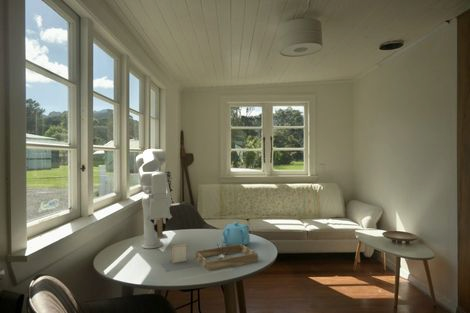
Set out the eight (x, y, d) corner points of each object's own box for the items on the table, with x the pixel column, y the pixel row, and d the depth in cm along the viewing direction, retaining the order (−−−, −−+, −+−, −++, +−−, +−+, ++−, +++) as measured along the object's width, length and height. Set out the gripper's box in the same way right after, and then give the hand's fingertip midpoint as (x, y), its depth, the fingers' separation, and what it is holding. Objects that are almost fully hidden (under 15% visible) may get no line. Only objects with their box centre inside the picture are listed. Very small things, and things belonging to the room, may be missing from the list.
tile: (172, 262, 146) (172, 246, 146) (186, 260, 149) (185, 244, 149) (173, 263, 144) (172, 247, 144) (187, 261, 147) (186, 245, 147)
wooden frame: (195, 259, 151) (195, 251, 151) (241, 251, 163) (241, 243, 163) (208, 271, 135) (207, 262, 135) (257, 261, 146) (257, 253, 146)
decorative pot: (252, 242, 180) (252, 220, 180) (246, 250, 165) (245, 225, 165) (227, 240, 185) (227, 219, 185) (219, 248, 169) (218, 224, 170)
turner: (154, 234, 154) (154, 219, 154) (164, 233, 156) (163, 218, 156) (157, 239, 143) (157, 223, 144) (167, 238, 145) (167, 222, 146)
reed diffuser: (213, 255, 140) (218, 238, 160) (209, 268, 141) (215, 250, 161) (233, 261, 140) (236, 243, 160) (230, 274, 141) (233, 255, 160)
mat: (160, 264, 144) (160, 263, 144) (191, 259, 151) (191, 258, 151) (166, 273, 134) (166, 271, 134) (199, 266, 141) (199, 265, 141)
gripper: (143, 198, 146) (144, 234, 147) (176, 196, 153) (176, 231, 153) (142, 196, 153) (142, 231, 154) (173, 194, 160) (173, 227, 160)
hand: (159, 230), depth 153 cm, fingers closed on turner, 2 cm apart
